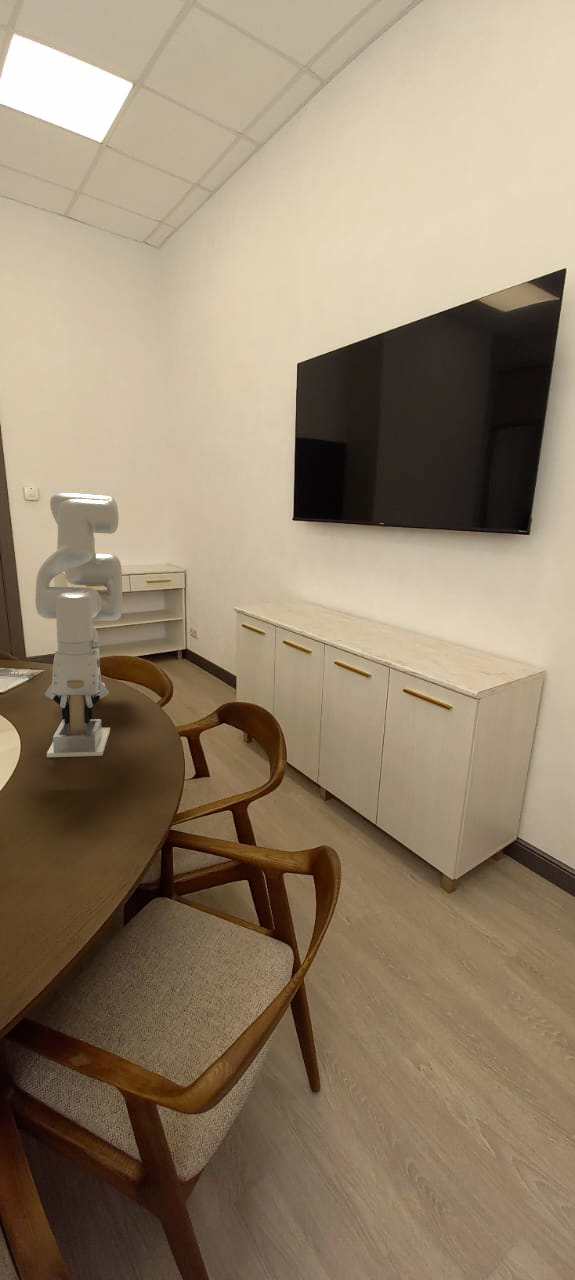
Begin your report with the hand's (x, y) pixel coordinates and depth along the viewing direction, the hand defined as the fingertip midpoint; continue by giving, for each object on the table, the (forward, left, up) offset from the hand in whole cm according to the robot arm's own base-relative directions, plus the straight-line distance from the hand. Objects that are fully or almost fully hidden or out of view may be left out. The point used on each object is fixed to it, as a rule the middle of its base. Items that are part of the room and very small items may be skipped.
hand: (78, 720), depth 122 cm
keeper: (-2, 0, -7) cm, 7 cm away
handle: (0, 0, -4) cm, 4 cm away
